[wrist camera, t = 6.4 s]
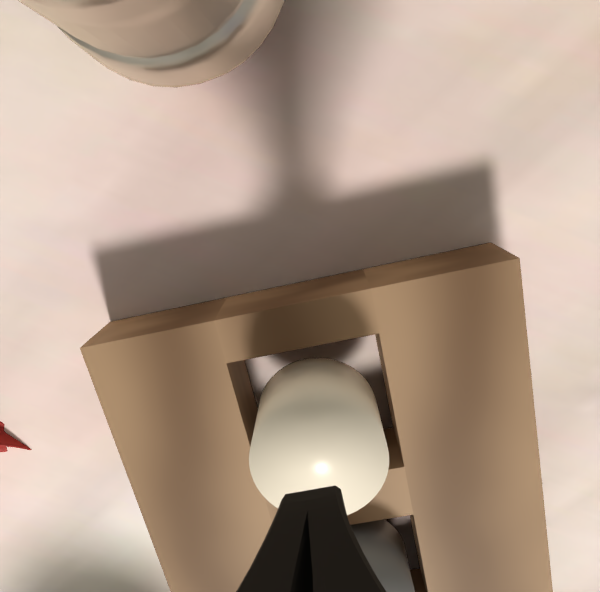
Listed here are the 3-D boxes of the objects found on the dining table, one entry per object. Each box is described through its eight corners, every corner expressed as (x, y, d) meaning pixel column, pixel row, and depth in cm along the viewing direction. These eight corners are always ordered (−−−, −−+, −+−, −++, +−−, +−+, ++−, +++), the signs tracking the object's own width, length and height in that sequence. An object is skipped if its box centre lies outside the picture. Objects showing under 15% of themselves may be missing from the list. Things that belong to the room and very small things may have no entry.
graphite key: (396, 504, 19) (409, 563, 16) (412, 585, 20) (427, 653, 18) (293, 521, 19) (290, 581, 17) (315, 600, 21) (315, 668, 18)
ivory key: (365, 347, 16) (375, 386, 14) (386, 452, 17) (399, 508, 15) (246, 370, 17) (233, 413, 14) (274, 471, 18) (267, 529, 15)
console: (490, 242, 17) (519, 258, 15) (543, 696, 23) (569, 758, 21) (109, 321, 19) (80, 348, 16) (253, 733, 25) (247, 796, 22)
